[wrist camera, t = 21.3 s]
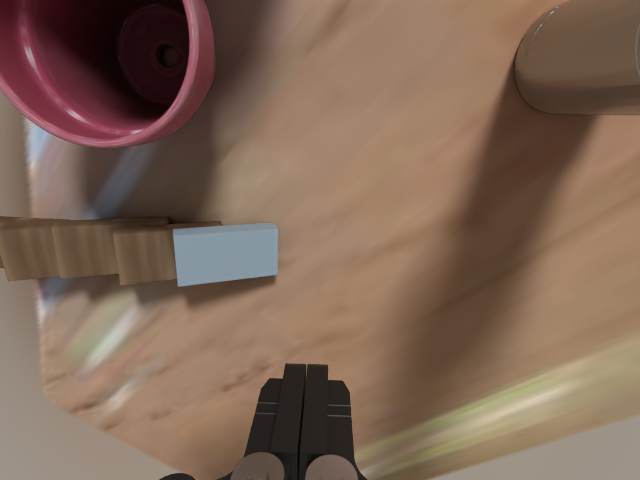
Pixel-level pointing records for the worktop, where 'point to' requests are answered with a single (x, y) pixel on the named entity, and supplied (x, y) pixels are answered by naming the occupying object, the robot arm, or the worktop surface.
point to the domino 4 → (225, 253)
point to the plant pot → (106, 66)
